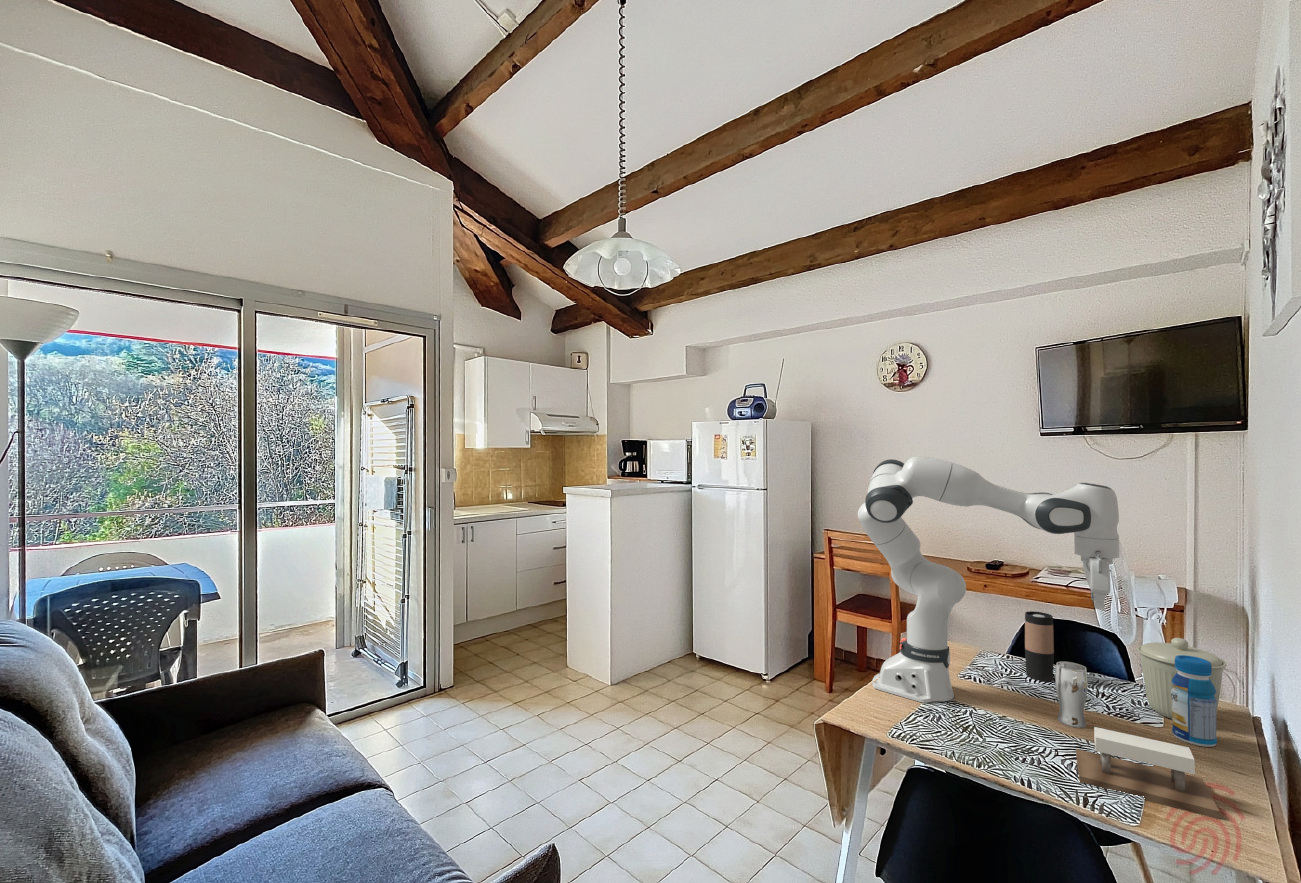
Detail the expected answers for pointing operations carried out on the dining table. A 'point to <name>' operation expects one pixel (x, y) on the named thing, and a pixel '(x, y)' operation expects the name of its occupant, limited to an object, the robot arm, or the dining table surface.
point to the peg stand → (1147, 782)
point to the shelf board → (1144, 750)
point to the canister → (1171, 671)
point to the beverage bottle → (1193, 702)
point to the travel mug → (1039, 645)
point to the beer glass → (1071, 693)
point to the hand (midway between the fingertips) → (1097, 604)
